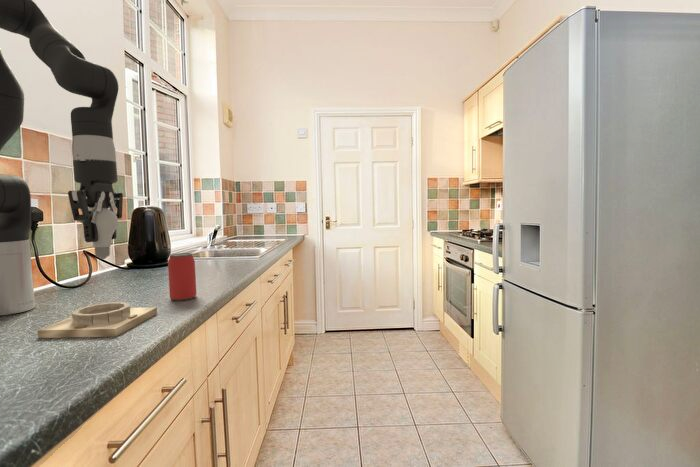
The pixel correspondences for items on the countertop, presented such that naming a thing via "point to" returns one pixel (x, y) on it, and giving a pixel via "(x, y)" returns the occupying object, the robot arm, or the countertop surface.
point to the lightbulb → (104, 232)
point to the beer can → (182, 276)
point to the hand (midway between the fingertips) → (101, 240)
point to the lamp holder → (98, 321)
